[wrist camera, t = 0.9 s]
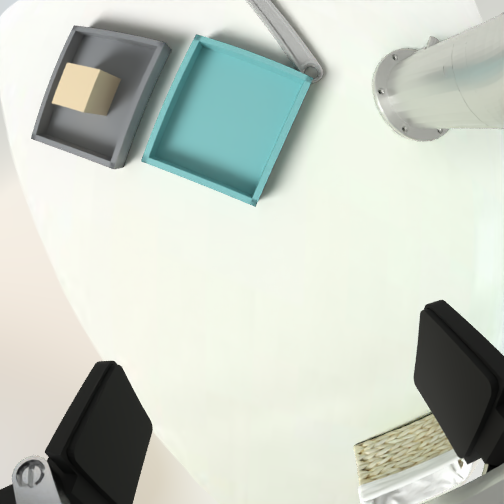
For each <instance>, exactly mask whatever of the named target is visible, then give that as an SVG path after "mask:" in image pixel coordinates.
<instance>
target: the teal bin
mask: <svg viewBox="0 0 504 504" xmlns="http://www.w3.org/2000/svg"><path fill="white" fill-rule="evenodd" d="M312 80H313V78H312V77H310V76H308V75H306V74H303V73H301V72H299V71H297V70H294V69H292V68H290V67H287V66H285V65H283V64H280V63H278V62H275V61H273V60H270V59H268V58H265V57H263V56H260V55H258V54H255V53H252V52H249V51H247V50H244V49H241V48H238V47H235V46H232V45H229V44H226V43H223V42H220V41H217V40H214V39H210V38H207V37H204V36H200V35H197V34H196V36H195V38H194V40H193V42H192V44H191V45H190V47H189V49H188V51H187V53H186V55H185V58H184V60H183V62H182V64H181V66H180V68H179V70H178V72H177V74H176V76H175V79H174V81H173V83H172V85H171V87H170V90H169V92H168V94H167V97H166V99H165V101H164V104H163V106H162V108H161V111H160V113H159V116H158V118H157V120H156V123H155V125H154V128H153V131H152V133H151V136H150V138H149V141H148V144H147V146H146V149H145V152H144V154H143V157H142V160H141V161H142V162H144V163H147V164H150V165H152V166H155V167H158V168H160V169H163V170H165V171H168V172H171V173H173V174H176V175H178V176H181V177H184V178H186V179H189V180H191V181H194V182H196V183H199V184H201V185H204V186H206V187H209V188H211V189H214V190H216V191H219V192H221V193H224V194H226V195H228V196H231V197H233V198H236V199H238V200H241V201H243V202H245V203H248V204H250V205H253V206H255V207H256V204H257V202H258V200H259V197H260V195H261V193H262V191H263V188H264V186H265V184H266V182H267V179H268V177H269V175H270V173H271V170H272V168H273V166H274V164H275V161H276V159H277V157H278V155H279V153H280V150H281V148H282V146H283V144H284V141H285V139H286V137H287V135H288V133H289V130H290V128H291V126H292V124H293V121H294V119H295V117H296V115H297V113H298V110H299V108H300V106H301V104H302V102H303V99H304V97H305V95H306V93H307V91H308V89H309V86H310V84H311V82H312Z"/></svg>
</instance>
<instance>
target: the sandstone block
mask: <svg viewBox="0 0 504 504" xmlns="http://www.w3.org/2000/svg"><path fill="white" fill-rule="evenodd" d="M120 81H121V79H120V78H118V77H115V76H113V75H111V74H109V73H107V72H104V71H102V70H100V69H95V68H91V67H86V66H82V65H77V64H72V63H67V64H66V67H65V69H64V71H63V74H62V76H61V79H60V82H59V84H58V87H57V90H56V92H55V95H54V98H53V101H52V103H53V104H57V105H60V106H64V107H67V108H71V109H74V110H77V111H81V112H85V113H91V114H98V115H104V116H107V113H108V111H109V108H110V105H111V103H112V100H113V98H114V95H115V93H116V90H117V88H118V86H119V83H120Z"/></svg>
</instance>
